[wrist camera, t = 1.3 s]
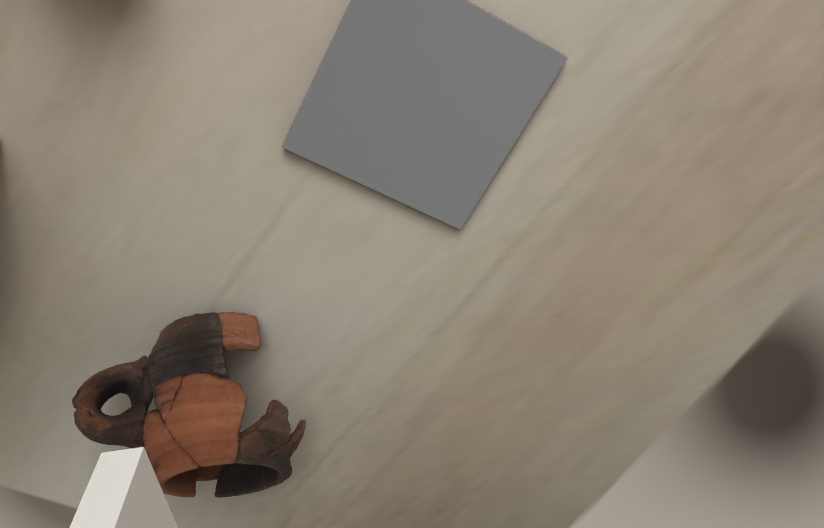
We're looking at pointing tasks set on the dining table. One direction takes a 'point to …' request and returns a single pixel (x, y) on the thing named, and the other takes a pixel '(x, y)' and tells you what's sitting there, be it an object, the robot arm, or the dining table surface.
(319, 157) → the slate coaster
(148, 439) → the pottery mug
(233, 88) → the dining table surface
